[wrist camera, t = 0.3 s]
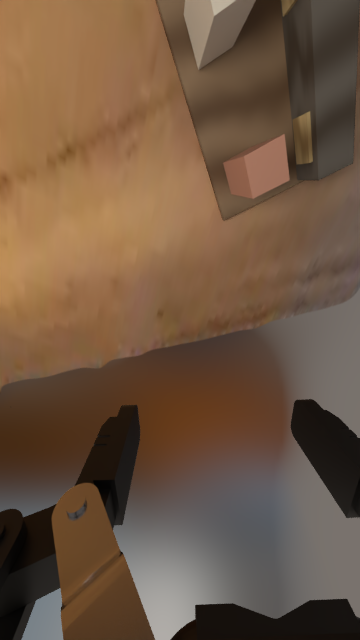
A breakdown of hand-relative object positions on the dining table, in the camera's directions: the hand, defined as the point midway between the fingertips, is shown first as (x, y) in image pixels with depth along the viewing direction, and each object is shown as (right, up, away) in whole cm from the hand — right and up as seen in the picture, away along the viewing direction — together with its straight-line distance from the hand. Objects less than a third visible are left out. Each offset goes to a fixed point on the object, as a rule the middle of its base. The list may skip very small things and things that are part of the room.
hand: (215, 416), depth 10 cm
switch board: (+8, +33, +14) cm, 37 cm away
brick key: (+7, +26, +18) cm, 32 cm away
